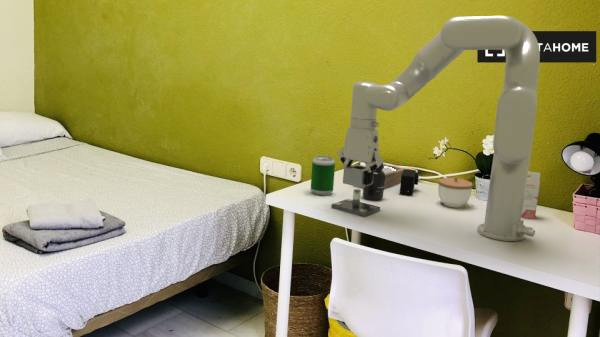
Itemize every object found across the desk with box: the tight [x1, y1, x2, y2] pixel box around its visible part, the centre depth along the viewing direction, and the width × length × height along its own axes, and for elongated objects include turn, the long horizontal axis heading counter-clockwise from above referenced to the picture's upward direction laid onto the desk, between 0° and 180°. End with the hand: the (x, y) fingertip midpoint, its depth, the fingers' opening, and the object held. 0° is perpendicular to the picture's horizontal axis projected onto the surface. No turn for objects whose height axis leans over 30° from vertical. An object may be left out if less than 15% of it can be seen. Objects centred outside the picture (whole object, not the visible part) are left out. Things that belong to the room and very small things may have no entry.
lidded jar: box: [437, 176, 473, 209], centre depth 196 cm, size 11×11×9 cm
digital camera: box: [399, 168, 420, 197], centre depth 208 cm, size 10×5×7 cm, turn 166°
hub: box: [342, 163, 374, 189], centre depth 183 cm, size 7×7×5 cm
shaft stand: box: [330, 188, 381, 218], centre depth 185 cm, size 12×9×6 cm
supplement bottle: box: [362, 161, 385, 202], centre depth 197 cm, size 7×7×12 cm
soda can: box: [310, 155, 336, 196], centre depth 200 cm, size 8×8×12 cm
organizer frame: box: [354, 163, 406, 190], centre depth 217 cm, size 9×20×5 cm, turn 142°
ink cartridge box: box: [521, 171, 541, 220], centre depth 188 cm, size 9×5×15 cm, turn 68°
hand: (357, 181), depth 183 cm, fingers closed on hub, 6 cm apart
